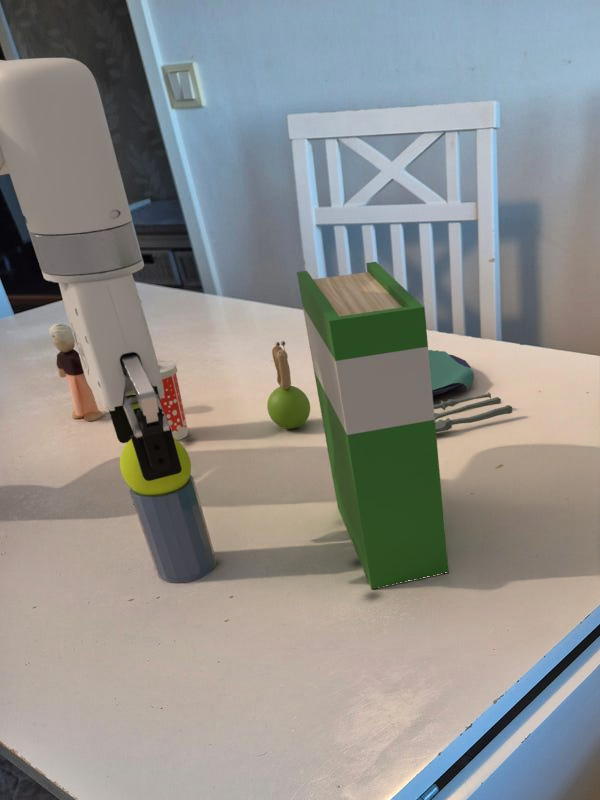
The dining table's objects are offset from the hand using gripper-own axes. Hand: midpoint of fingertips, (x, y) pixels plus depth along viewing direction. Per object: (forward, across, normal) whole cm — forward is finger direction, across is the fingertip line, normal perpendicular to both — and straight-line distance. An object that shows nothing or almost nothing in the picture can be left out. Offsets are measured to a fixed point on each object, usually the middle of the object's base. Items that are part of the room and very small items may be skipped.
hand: (149, 456), depth 75 cm
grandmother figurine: (+12, -50, 0) cm, 51 cm away
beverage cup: (+12, -35, +8) cm, 38 cm away
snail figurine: (+12, -27, +22) cm, 37 cm away
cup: (+12, 0, 0) cm, 12 cm away
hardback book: (+12, +7, +19) cm, 24 cm away
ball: (+1, 0, 0) cm, 1 cm away
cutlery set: (+12, -27, +40) cm, 49 cm away
